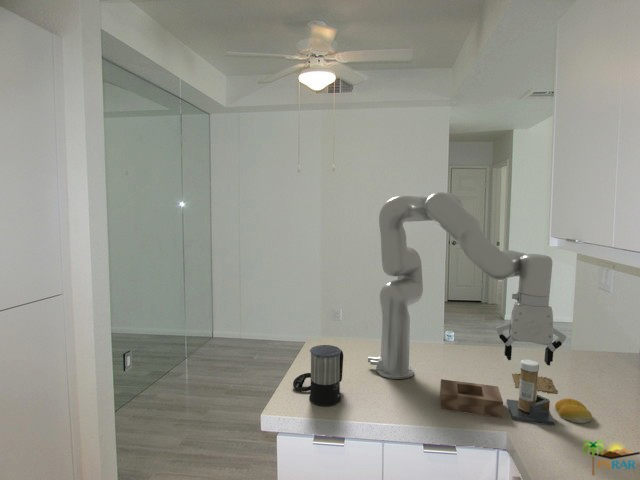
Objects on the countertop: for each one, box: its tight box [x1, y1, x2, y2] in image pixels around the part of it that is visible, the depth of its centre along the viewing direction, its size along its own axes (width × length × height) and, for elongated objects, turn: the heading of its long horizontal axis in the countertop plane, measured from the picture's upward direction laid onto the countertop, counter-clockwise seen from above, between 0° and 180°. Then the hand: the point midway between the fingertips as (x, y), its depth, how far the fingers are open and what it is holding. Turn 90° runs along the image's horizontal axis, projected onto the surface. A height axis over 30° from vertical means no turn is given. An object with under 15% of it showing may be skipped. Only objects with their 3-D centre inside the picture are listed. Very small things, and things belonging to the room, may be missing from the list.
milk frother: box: [292, 344, 344, 407], centre depth 122 cm, size 14×16×15 cm
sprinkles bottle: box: [518, 359, 540, 413], centre depth 112 cm, size 5×5×13 cm
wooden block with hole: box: [439, 378, 504, 419], centre depth 116 cm, size 16×10×4 cm, turn 74°
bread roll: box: [554, 397, 593, 424], centre depth 111 cm, size 8×9×4 cm
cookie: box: [511, 372, 558, 395], centre depth 132 cm, size 12×12×1 cm
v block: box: [506, 394, 555, 426], centre depth 112 cm, size 10×11×4 cm
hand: (527, 361), depth 112 cm, fingers open, 9 cm apart
